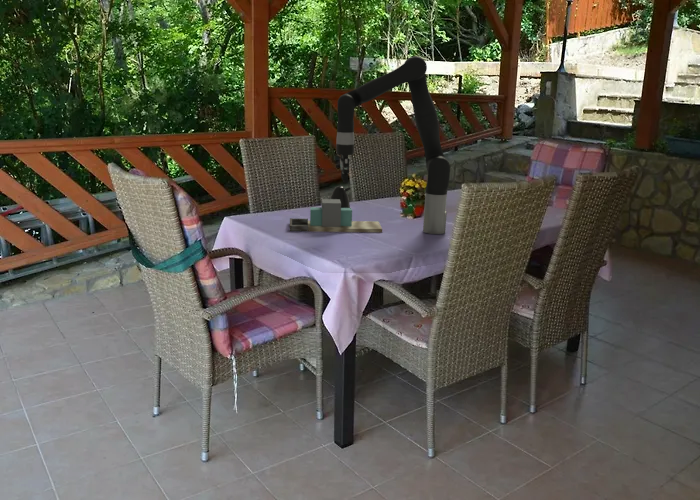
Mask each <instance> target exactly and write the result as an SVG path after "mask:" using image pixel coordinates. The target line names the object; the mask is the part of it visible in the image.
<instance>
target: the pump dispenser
mask: <svg viewBox="0 0 700 500" xmlns="http://www.w3.org/2000/svg"><path fill="white" fill-rule="evenodd" d="M348 191H351V187H349V186H348V187H346V188H345V187H344V186H342V185H338V186H335V187H334V189H333V191H332V193H331V195H330V198H329V199H340V201H341V208H351V204H350V199H349V194H348Z"/></svg>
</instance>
